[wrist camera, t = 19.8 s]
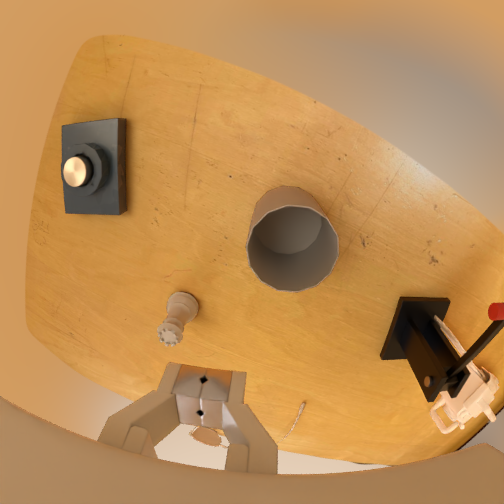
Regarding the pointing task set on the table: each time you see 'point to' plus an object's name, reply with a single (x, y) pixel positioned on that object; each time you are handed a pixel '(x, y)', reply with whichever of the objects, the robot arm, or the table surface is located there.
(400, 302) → the press bracket
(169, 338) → the rook chess piece
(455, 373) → the press lever
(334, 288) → the table surface
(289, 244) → the cup
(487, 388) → the chainsaw
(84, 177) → the gold dial knob
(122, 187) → the button block
